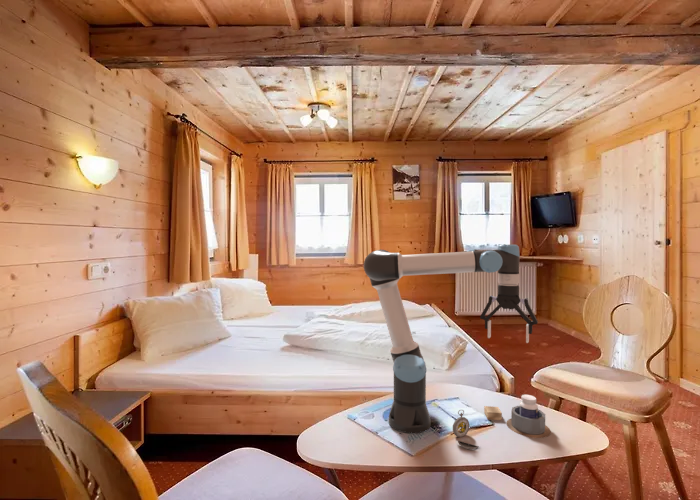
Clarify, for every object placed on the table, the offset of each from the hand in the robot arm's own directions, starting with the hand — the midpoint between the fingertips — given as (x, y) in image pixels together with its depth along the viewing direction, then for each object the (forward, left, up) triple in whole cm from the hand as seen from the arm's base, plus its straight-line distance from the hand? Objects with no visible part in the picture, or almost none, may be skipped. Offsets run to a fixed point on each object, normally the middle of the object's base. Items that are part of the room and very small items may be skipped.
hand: (507, 339), depth 140 cm
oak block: (-4, -8, -29) cm, 30 cm away
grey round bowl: (+8, -10, -28) cm, 30 cm away
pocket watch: (-9, -29, -29) cm, 42 cm away
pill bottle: (+8, -10, -27) cm, 30 cm away
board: (+8, -10, -29) cm, 31 cm away
